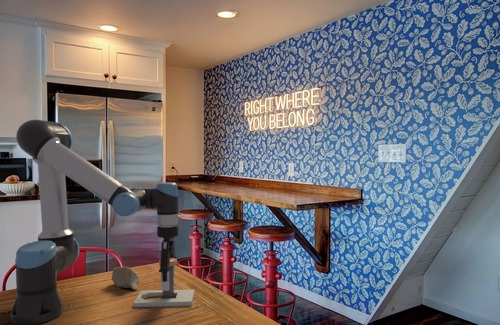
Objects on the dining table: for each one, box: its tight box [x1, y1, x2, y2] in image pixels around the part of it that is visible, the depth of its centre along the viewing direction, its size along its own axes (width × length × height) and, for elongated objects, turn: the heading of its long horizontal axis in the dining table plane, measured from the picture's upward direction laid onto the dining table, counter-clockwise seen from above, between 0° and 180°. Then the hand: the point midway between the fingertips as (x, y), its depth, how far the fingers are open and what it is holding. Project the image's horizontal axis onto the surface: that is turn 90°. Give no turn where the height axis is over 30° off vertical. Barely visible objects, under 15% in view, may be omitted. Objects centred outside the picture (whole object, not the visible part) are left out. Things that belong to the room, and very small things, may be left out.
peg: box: [158, 258, 178, 299], centre depth 143 cm, size 6×6×14 cm
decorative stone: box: [111, 266, 141, 291], centre depth 158 cm, size 8×14×8 cm, turn 50°
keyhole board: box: [133, 289, 196, 308], centre depth 143 cm, size 20×12×2 cm, turn 93°
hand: (168, 283), depth 143 cm, fingers open, 13 cm apart
